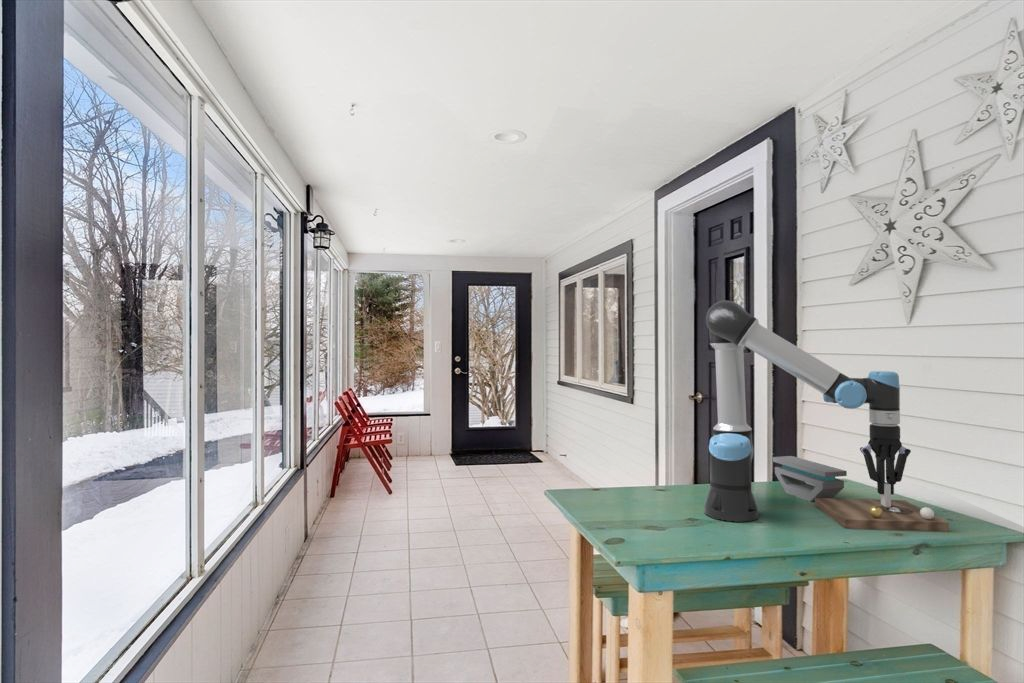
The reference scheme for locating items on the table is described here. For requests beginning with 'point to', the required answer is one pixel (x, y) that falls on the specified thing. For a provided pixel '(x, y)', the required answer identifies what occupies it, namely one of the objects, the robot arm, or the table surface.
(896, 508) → the steel ball
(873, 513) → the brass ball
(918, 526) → the walnut plate
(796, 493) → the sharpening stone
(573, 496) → the table surface
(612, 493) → the table surface
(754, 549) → the table surface
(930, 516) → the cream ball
